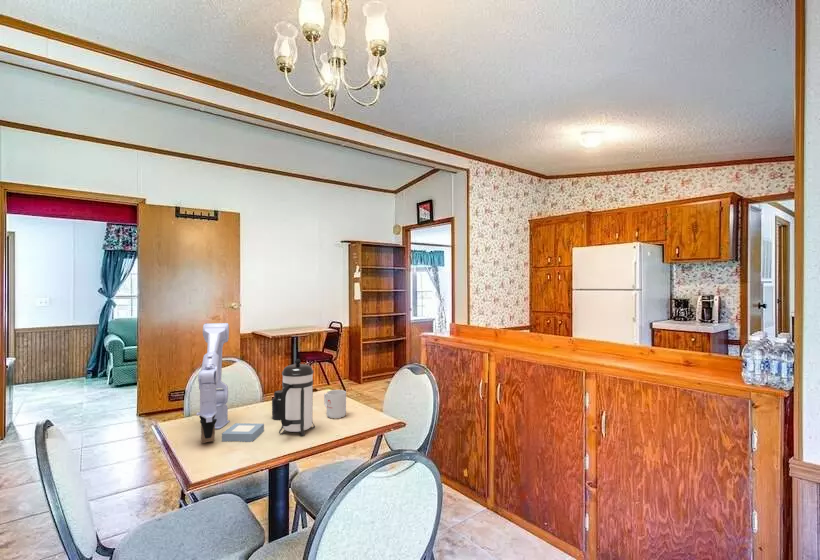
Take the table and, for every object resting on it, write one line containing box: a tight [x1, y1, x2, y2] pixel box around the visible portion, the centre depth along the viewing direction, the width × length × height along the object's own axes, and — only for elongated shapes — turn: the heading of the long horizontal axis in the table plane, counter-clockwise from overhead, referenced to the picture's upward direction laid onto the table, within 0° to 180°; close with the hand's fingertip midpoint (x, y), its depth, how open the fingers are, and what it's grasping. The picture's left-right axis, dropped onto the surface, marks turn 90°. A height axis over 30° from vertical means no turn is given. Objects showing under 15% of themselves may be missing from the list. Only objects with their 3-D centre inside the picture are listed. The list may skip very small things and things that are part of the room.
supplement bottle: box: [271, 389, 282, 421], centre depth 190 cm, size 7×7×12 cm
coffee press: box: [278, 358, 316, 437], centre depth 172 cm, size 17×16×30 cm
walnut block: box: [200, 424, 216, 444], centre depth 161 cm, size 4×4×6 cm
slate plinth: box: [221, 422, 265, 443], centre depth 167 cm, size 12×12×3 cm
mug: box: [323, 389, 347, 419], centre depth 194 cm, size 12×9×11 cm
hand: (207, 435), depth 161 cm, fingers closed on walnut block, 4 cm apart
